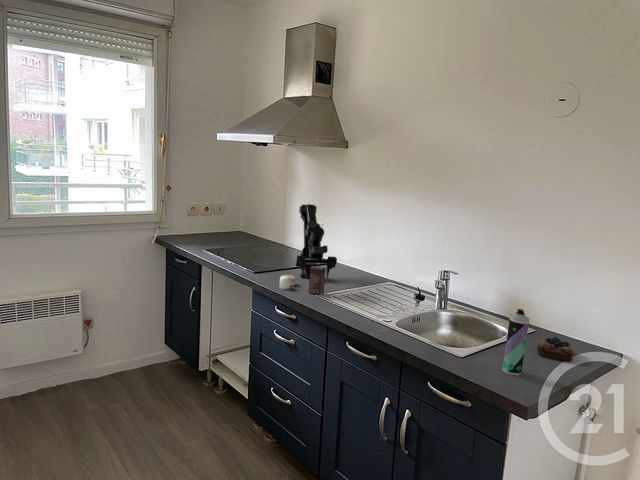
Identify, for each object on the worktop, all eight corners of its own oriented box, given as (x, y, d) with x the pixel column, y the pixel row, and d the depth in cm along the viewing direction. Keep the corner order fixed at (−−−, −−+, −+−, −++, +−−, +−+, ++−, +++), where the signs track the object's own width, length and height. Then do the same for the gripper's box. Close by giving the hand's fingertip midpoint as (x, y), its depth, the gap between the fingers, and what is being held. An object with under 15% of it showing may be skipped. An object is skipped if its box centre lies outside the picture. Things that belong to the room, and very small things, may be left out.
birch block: (281, 283, 233) (282, 275, 232) (291, 283, 235) (291, 275, 234) (284, 286, 228) (285, 277, 228) (294, 285, 230) (295, 277, 230)
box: (323, 293, 221) (325, 267, 219) (320, 295, 216) (321, 269, 214) (312, 290, 223) (313, 265, 221) (307, 293, 219) (309, 267, 217)
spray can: (500, 367, 151) (508, 305, 148) (518, 368, 151) (527, 307, 148) (505, 374, 146) (514, 311, 143) (523, 376, 146) (533, 313, 142)
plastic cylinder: (279, 286, 227) (279, 276, 226) (289, 286, 228) (290, 276, 227) (279, 289, 222) (280, 278, 221) (290, 289, 223) (291, 279, 222)
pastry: (537, 357, 162) (540, 341, 161) (535, 345, 173) (538, 330, 172) (574, 364, 158) (577, 347, 157) (569, 352, 170) (572, 336, 169)
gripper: (297, 238, 219) (299, 267, 210) (337, 239, 222) (341, 268, 213) (294, 251, 228) (296, 280, 219) (333, 253, 231) (336, 281, 222)
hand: (317, 277), depth 218 cm, fingers open, 9 cm apart
